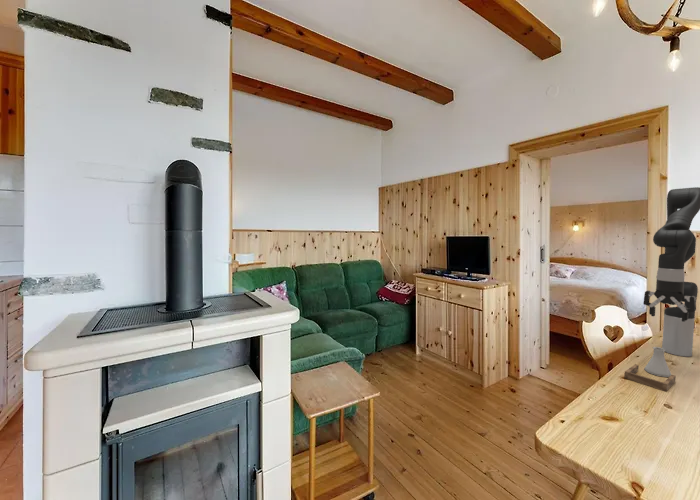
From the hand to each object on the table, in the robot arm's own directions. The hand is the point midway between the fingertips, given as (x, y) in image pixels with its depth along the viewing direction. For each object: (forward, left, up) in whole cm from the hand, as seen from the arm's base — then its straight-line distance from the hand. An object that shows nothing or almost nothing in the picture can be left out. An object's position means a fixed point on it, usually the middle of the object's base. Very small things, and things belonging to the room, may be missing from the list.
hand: (667, 318), depth 118 cm
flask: (+10, 0, -21) cm, 23 cm away
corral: (+21, 0, -20) cm, 29 cm away
